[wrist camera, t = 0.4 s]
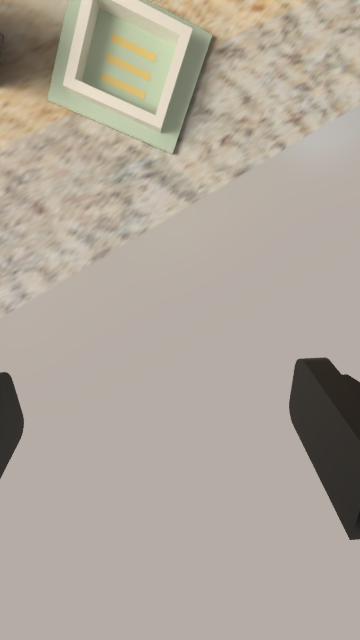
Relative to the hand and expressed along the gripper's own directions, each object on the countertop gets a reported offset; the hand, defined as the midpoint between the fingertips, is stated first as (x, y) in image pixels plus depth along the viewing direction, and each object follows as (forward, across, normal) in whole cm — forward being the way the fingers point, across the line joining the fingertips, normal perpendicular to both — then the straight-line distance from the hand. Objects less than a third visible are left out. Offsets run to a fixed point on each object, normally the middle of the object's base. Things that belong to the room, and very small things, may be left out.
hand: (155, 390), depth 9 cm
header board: (+29, +2, -13) cm, 32 cm away
